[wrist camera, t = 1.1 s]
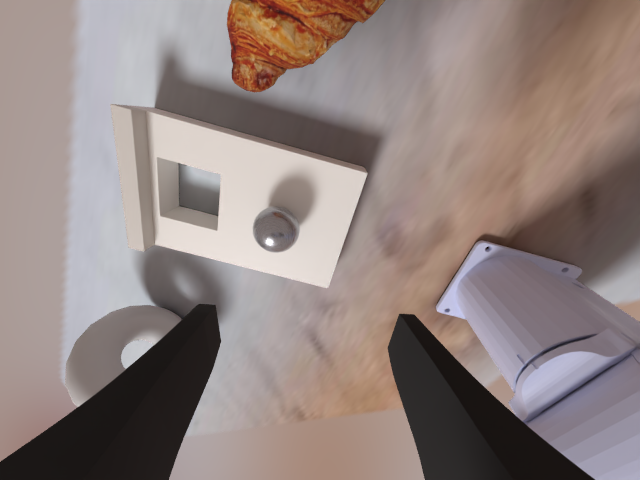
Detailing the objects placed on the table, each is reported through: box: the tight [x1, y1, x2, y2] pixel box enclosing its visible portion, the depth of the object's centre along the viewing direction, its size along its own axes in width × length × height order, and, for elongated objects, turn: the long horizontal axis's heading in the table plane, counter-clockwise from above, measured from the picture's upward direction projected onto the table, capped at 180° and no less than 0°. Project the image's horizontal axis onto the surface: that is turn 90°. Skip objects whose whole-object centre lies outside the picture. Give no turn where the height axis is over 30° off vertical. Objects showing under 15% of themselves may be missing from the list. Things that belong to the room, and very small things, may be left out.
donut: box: [65, 305, 182, 407], centre depth 22 cm, size 10×4×10 cm, turn 41°
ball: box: [253, 206, 300, 253], centre depth 16 cm, size 3×3×3 cm
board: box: [111, 104, 368, 288], centre depth 18 cm, size 16×10×4 cm, turn 75°
